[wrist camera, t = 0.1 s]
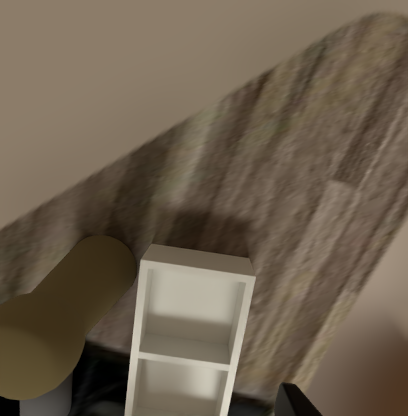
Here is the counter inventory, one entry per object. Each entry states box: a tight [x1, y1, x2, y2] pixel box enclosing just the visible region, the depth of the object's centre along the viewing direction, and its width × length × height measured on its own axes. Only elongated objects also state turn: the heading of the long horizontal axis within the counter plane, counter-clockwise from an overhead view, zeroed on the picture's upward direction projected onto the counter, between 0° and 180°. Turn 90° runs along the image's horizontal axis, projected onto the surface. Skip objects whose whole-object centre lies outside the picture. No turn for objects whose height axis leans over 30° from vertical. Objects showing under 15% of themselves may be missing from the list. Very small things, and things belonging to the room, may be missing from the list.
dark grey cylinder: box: [20, 371, 73, 416], centre depth 23 cm, size 6×4×4 cm, turn 171°
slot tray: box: [124, 244, 256, 416], centre depth 22 cm, size 16×8×3 cm, turn 172°
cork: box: [0, 235, 137, 400], centre depth 17 cm, size 6×6×11 cm
